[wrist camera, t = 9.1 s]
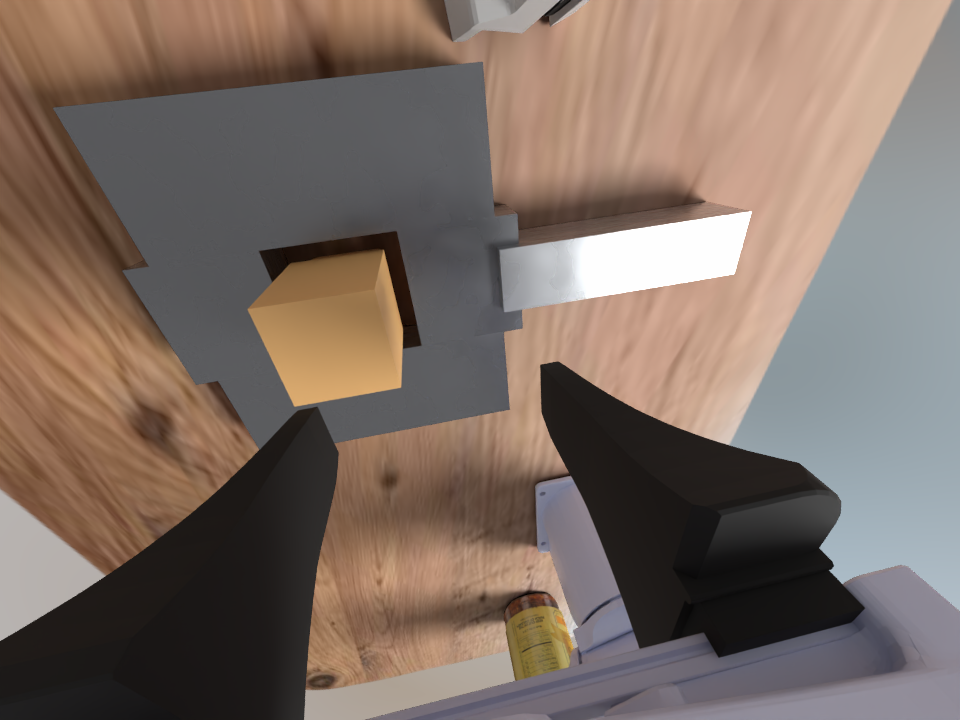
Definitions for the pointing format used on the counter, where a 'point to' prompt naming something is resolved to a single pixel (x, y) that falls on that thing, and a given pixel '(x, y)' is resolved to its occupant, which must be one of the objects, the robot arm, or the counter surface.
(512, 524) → the counter surface
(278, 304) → the wedge pin
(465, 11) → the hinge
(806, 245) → the counter surface
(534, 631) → the sauce bottle
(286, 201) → the grey mounting plate
